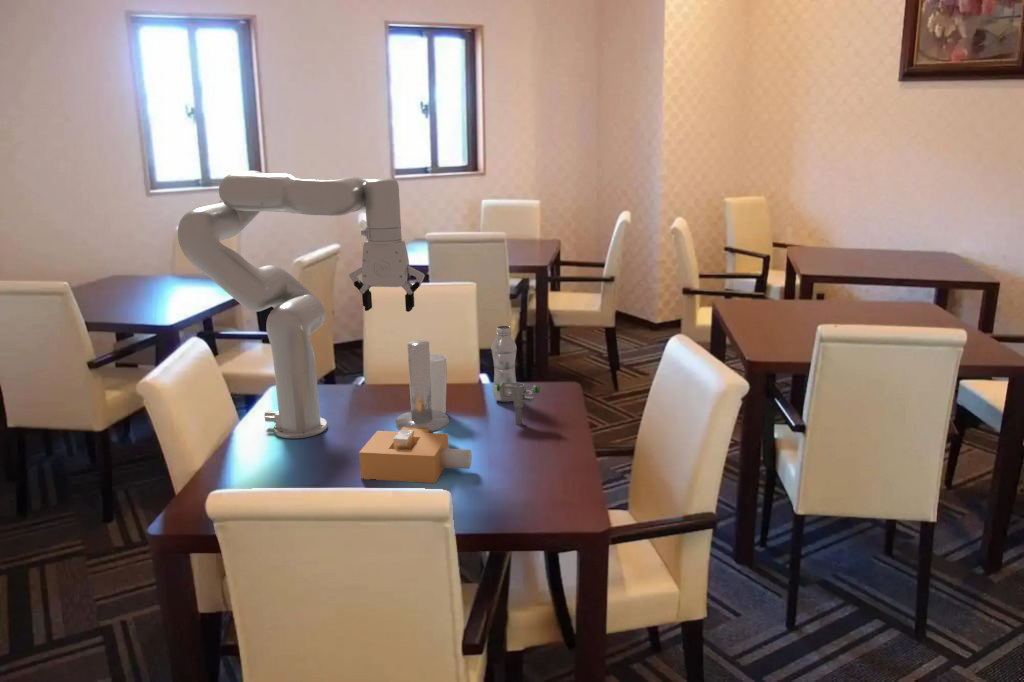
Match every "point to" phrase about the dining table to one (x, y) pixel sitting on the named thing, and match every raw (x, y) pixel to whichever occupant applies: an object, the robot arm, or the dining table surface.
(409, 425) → the post
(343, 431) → the dining table surface
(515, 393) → the mechanical component
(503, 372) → the plastic bottle
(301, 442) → the dining table surface
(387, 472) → the bracket head
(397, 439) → the white block
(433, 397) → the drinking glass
